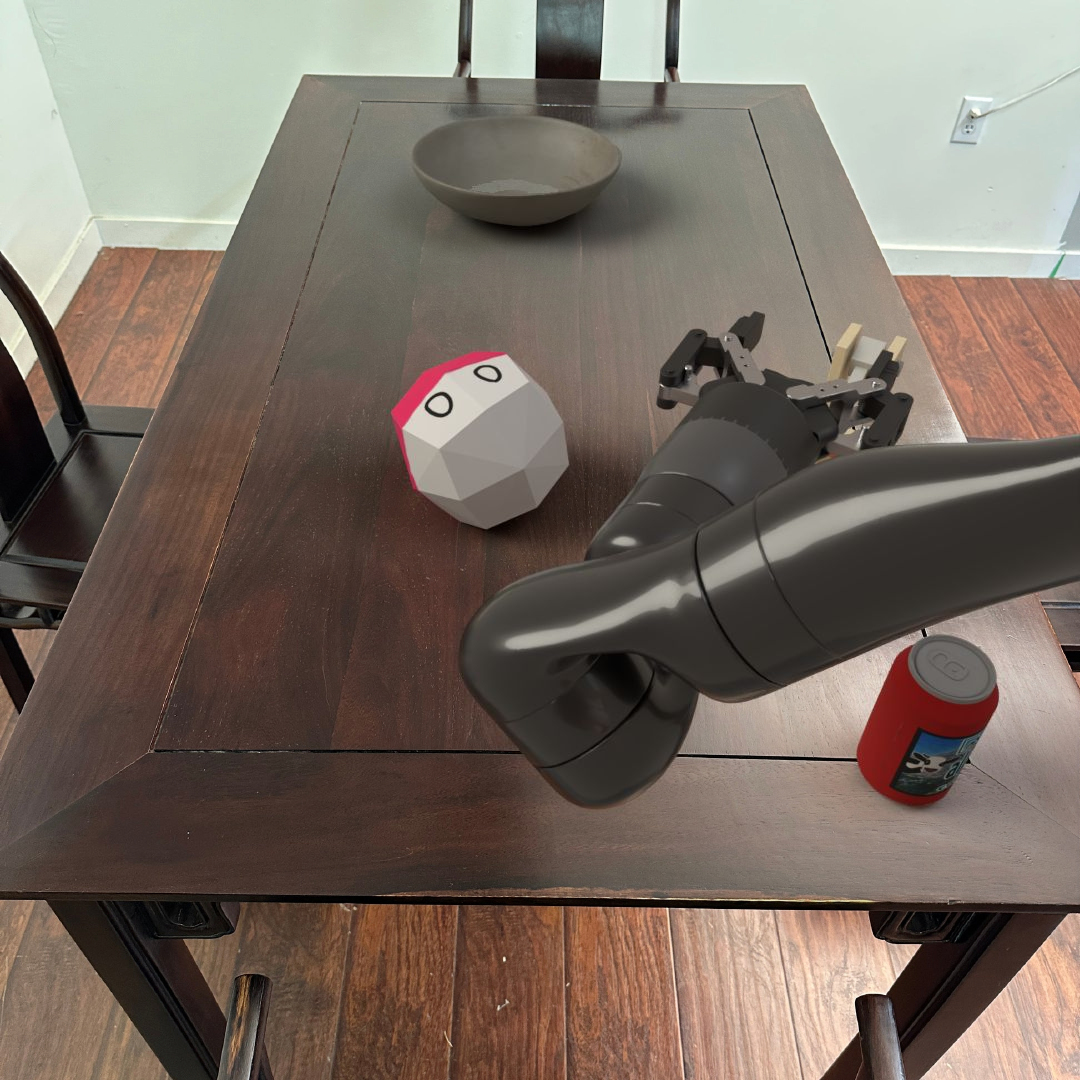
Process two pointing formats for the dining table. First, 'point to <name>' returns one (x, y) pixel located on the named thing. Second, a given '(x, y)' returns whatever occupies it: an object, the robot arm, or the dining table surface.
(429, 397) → the decorative object
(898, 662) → the beverage can
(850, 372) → the lever
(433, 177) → the bowl
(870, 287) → the dining table surface
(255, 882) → the dining table surface
